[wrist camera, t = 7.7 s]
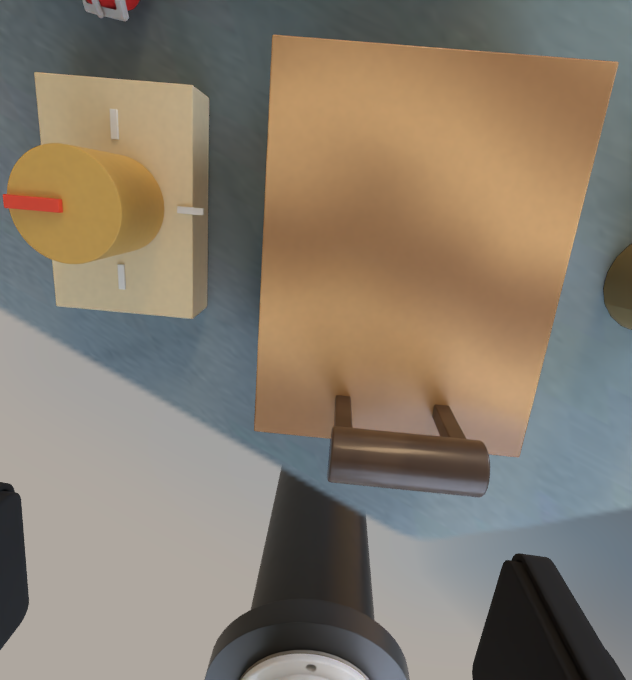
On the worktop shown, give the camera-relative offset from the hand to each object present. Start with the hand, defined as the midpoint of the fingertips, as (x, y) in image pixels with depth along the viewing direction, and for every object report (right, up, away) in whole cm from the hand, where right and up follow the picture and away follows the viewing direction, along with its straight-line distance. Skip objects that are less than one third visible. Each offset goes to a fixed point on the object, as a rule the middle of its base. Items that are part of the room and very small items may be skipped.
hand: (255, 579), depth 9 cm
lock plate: (-9, +13, +18) cm, 24 cm away
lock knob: (-9, +12, +15) cm, 22 cm away
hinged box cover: (+5, +8, +11) cm, 14 cm away
